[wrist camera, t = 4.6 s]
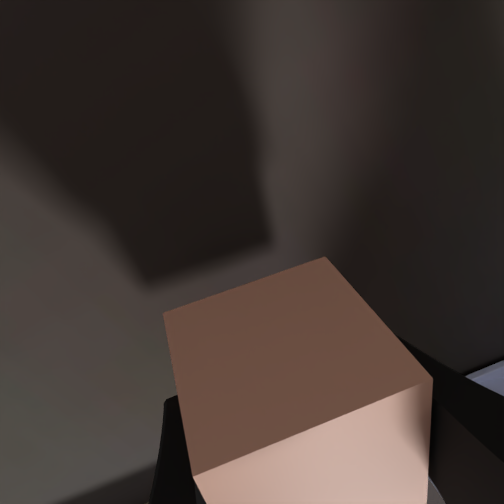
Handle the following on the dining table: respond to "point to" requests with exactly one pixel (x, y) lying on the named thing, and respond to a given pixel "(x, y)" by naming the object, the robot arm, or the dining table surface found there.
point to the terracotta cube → (299, 395)
